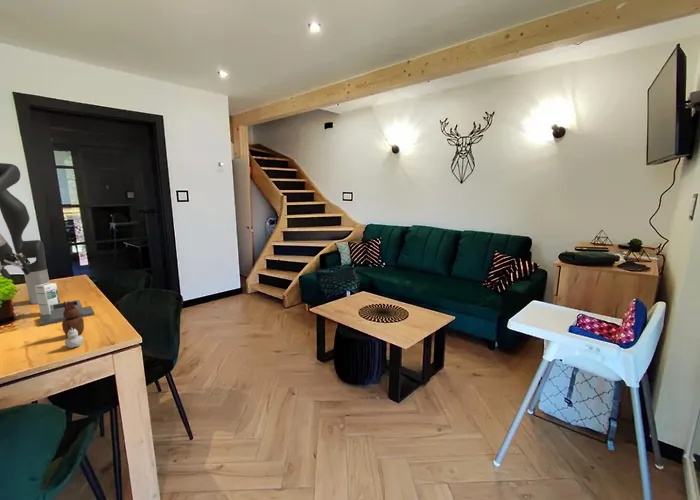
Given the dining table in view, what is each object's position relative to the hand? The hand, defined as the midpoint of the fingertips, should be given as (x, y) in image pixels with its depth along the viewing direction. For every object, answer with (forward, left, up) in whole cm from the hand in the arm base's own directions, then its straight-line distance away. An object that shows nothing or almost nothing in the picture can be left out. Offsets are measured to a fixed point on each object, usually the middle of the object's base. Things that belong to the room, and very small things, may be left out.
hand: (18, 275), depth 151 cm
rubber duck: (+49, +13, -22) cm, 55 cm away
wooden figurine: (+36, +14, -22) cm, 44 cm away
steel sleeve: (+6, +14, -22) cm, 26 cm away
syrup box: (-7, +8, -22) cm, 25 cm away
